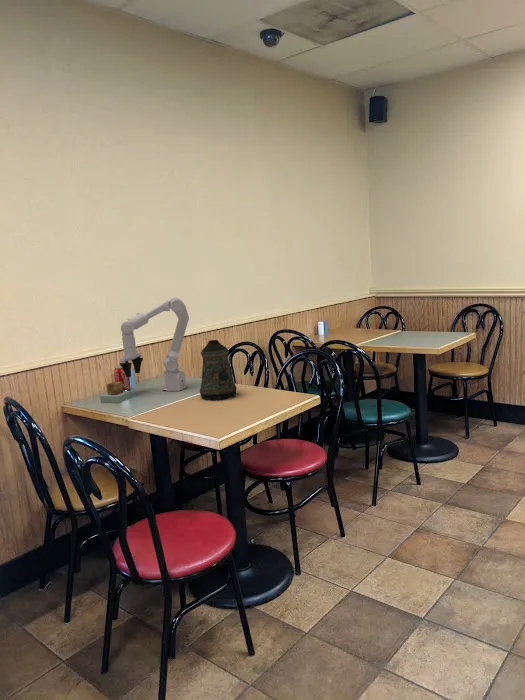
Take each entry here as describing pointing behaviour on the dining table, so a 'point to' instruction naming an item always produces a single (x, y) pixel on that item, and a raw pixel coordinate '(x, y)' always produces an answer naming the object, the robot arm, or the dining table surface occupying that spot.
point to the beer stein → (216, 373)
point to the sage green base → (115, 397)
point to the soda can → (121, 377)
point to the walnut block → (114, 388)
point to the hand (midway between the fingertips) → (133, 374)
